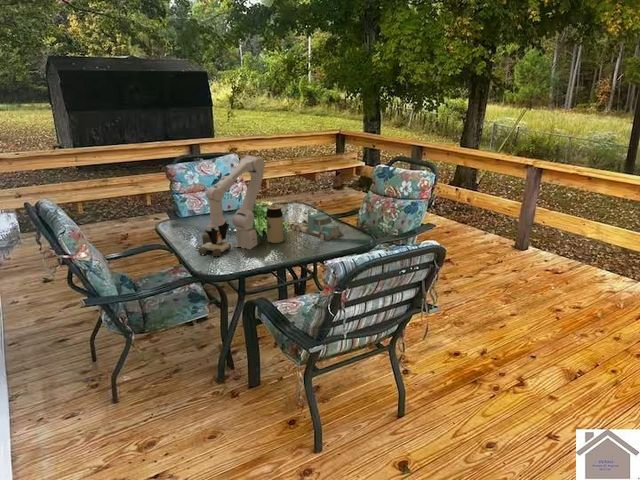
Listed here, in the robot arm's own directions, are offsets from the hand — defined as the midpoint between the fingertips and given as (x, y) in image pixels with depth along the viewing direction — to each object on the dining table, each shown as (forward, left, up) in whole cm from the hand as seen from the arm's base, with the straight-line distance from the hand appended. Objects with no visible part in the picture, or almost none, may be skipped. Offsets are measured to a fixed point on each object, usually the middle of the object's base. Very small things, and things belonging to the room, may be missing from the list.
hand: (218, 241), depth 220 cm
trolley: (+5, 0, -6) cm, 8 cm away
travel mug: (-16, -26, -6) cm, 31 cm away
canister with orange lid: (0, 0, -3) cm, 3 cm away
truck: (-31, -46, -7) cm, 56 cm away
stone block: (+12, -14, -6) cm, 20 cm away
